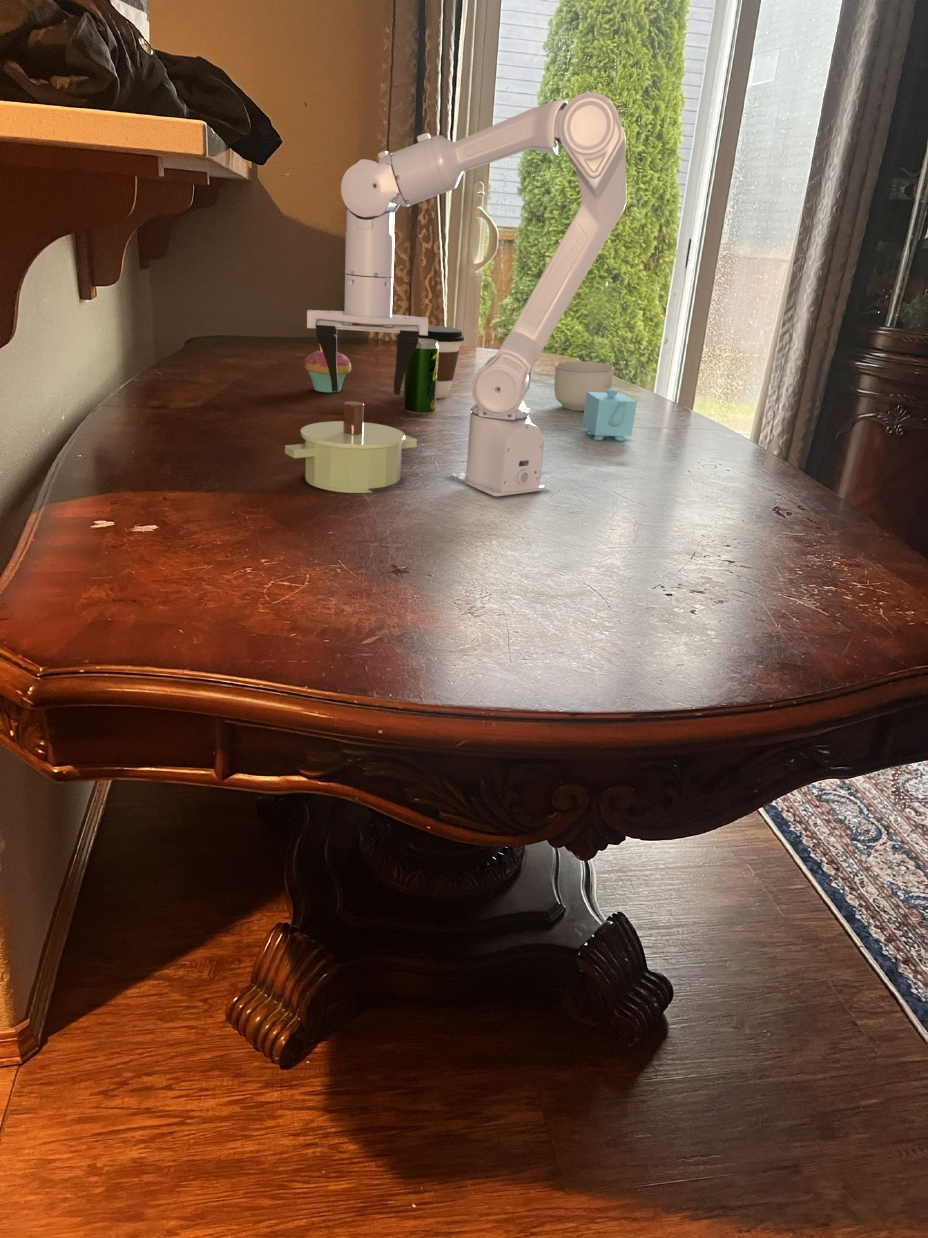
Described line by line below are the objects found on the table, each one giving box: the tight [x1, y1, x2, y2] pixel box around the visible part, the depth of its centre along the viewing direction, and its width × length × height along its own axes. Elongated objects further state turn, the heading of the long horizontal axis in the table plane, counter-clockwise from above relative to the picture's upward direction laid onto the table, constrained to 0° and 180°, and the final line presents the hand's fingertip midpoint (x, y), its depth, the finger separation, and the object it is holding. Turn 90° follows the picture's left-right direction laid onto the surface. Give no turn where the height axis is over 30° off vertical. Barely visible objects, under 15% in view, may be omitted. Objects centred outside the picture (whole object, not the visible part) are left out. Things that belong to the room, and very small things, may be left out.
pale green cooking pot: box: [284, 434, 418, 494], centre depth 110 cm, size 12×17×5 cm
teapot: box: [582, 388, 638, 442], centre depth 143 cm, size 12×6×8 cm, turn 9°
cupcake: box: [303, 345, 352, 393], centre depth 163 cm, size 9×8×12 cm
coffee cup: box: [418, 324, 465, 399], centre depth 166 cm, size 11×11×12 cm
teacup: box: [554, 360, 615, 412], centre depth 167 cm, size 14×11×8 cm
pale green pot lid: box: [300, 400, 406, 449], centre depth 108 cm, size 13×13×5 cm
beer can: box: [402, 338, 439, 415], centre depth 149 cm, size 5×5×12 cm
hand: (365, 391), depth 112 cm, fingers open, 7 cm apart
